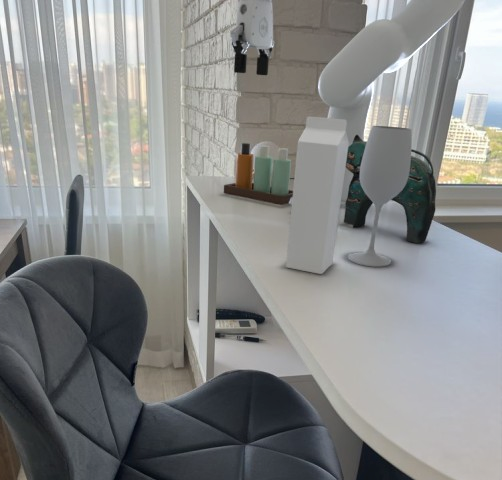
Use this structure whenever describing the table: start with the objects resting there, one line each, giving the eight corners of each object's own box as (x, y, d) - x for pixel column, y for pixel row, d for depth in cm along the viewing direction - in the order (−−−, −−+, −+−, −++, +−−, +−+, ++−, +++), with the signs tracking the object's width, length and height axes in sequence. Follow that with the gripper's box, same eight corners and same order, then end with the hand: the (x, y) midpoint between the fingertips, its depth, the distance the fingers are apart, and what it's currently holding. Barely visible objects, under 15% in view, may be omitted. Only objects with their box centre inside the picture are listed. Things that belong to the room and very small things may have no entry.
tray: (299, 202, 126) (300, 191, 125) (280, 207, 120) (281, 196, 119) (243, 191, 135) (244, 181, 134) (223, 195, 129) (223, 184, 128)
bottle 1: (271, 195, 129) (275, 146, 124) (267, 198, 125) (270, 147, 120) (255, 194, 130) (258, 144, 124) (250, 196, 126) (254, 146, 121)
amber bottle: (253, 192, 132) (256, 143, 126) (248, 195, 128) (251, 145, 123) (238, 190, 133) (240, 142, 127) (233, 193, 129) (235, 143, 124)
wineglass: (338, 254, 88) (357, 124, 79) (375, 252, 91) (397, 126, 81) (362, 268, 82) (384, 129, 73) (401, 265, 84) (427, 130, 75)
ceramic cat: (333, 223, 108) (347, 123, 99) (350, 220, 113) (365, 123, 104) (417, 246, 96) (441, 133, 87) (433, 241, 100) (457, 133, 92)
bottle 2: (289, 199, 126) (293, 148, 121) (285, 202, 122) (290, 150, 117) (272, 197, 127) (276, 147, 122) (268, 200, 123) (272, 148, 118)
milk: (297, 258, 85) (312, 115, 75) (332, 264, 83) (352, 119, 73) (285, 267, 80) (299, 116, 70) (322, 275, 78) (341, 119, 68)
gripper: (248, -15, 111) (243, 72, 119) (288, -2, 125) (281, 76, 132) (221, -14, 115) (218, 71, 123) (262, -1, 128) (258, 75, 136)
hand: (251, 73), depth 127 cm, fingers open, 9 cm apart
